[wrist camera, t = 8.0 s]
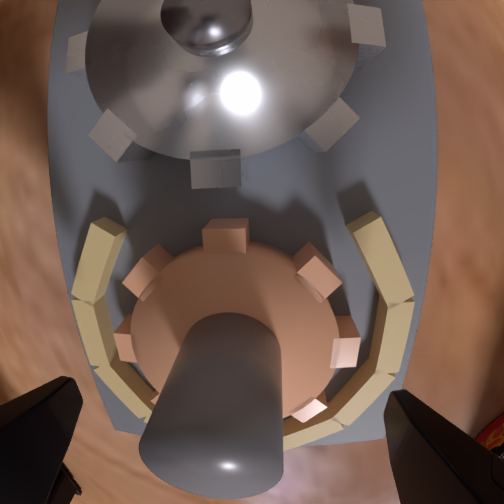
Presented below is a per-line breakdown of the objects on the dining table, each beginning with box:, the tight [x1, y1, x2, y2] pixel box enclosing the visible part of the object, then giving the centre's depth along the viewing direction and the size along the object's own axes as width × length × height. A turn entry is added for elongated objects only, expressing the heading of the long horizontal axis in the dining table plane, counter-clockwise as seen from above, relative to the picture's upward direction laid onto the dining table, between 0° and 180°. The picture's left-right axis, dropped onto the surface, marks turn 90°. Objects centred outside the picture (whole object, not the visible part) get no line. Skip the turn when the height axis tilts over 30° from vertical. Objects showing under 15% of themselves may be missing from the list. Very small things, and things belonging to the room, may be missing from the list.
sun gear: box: [66, 0, 386, 189], centre depth 7 cm, size 8×8×4 cm
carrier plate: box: [47, 0, 438, 451], centre depth 10 cm, size 14×21×2 cm, turn 2°
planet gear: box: [113, 218, 361, 499], centre depth 9 cm, size 8×8×6 cm
